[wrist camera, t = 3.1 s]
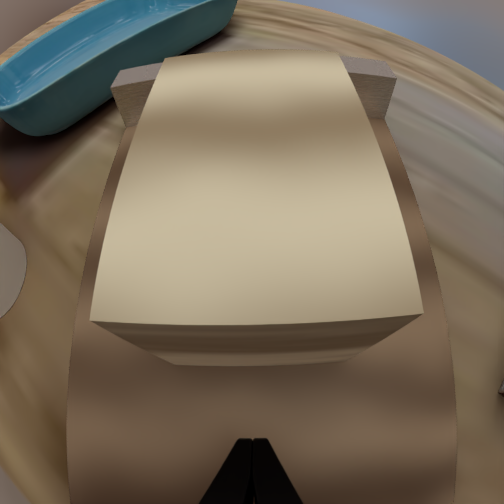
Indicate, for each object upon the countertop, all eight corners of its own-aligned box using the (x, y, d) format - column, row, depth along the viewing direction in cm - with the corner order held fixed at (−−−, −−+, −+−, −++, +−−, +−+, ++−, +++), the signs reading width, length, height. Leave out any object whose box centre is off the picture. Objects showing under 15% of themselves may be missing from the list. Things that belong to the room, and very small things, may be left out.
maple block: (345, 361, 14) (423, 313, 7) (174, 364, 14) (89, 320, 7) (319, 162, 19) (337, 52, 12) (192, 166, 19) (165, 58, 12)
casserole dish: (167, 7, 41) (160, -26, 35) (273, 21, 34) (273, -23, 28) (-17, 133, 28) (-41, 98, 22) (30, 196, 22) (-14, 142, 15)
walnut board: (440, 496, 11) (453, 501, 9) (84, 502, 11) (71, 507, 10) (370, 110, 24) (373, 97, 23) (139, 117, 25) (135, 105, 23)
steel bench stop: (384, 119, 21) (396, 78, 18) (126, 127, 22) (110, 87, 18) (375, 100, 22) (385, 61, 19) (133, 108, 23) (120, 70, 19)
